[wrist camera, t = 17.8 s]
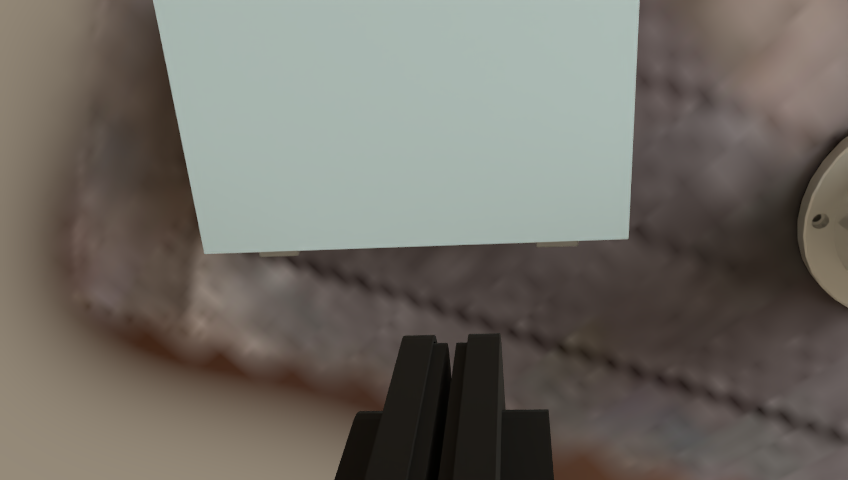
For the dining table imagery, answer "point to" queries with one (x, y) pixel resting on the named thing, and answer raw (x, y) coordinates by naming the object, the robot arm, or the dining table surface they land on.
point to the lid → (403, 120)
